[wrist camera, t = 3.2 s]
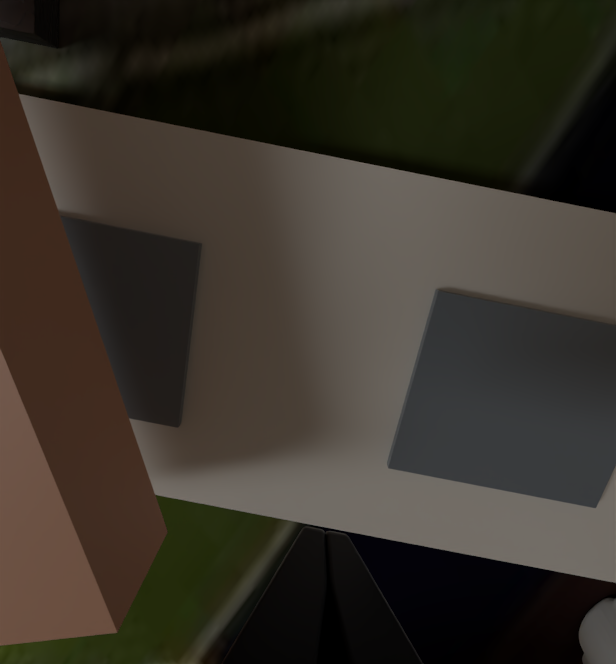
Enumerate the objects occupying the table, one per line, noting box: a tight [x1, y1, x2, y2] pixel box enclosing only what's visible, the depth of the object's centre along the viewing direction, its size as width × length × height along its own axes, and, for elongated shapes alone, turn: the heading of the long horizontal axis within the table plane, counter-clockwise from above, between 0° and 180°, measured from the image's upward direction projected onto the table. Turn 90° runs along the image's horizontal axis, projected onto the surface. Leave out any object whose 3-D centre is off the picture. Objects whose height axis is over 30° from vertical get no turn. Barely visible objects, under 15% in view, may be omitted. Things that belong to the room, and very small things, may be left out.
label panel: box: [19, 94, 616, 583], centre depth 13 cm, size 12×26×1 cm, turn 79°
